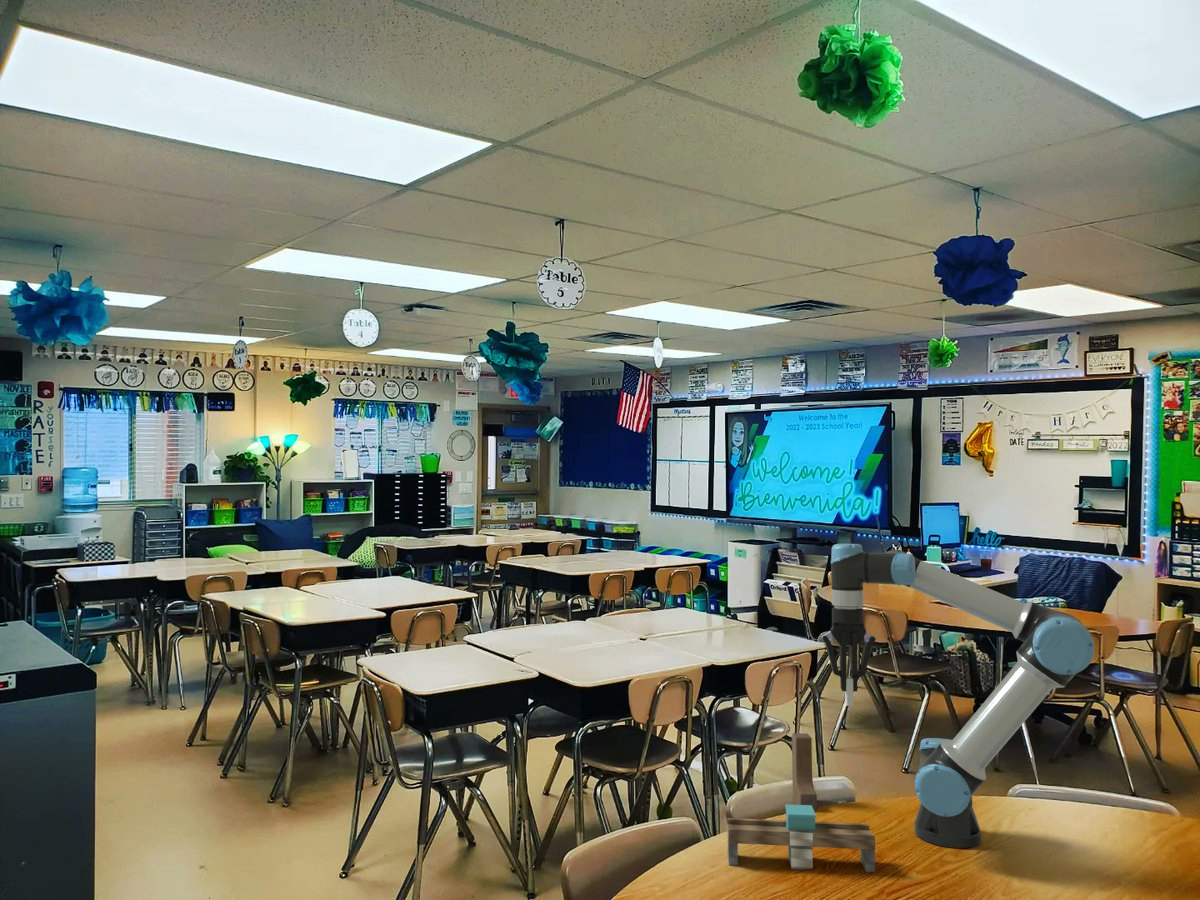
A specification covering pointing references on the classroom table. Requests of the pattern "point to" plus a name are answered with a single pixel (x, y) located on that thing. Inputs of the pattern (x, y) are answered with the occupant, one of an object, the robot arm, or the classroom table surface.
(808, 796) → the wooden block
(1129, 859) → the classroom table surface
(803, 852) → the wooden bench
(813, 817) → the rider
